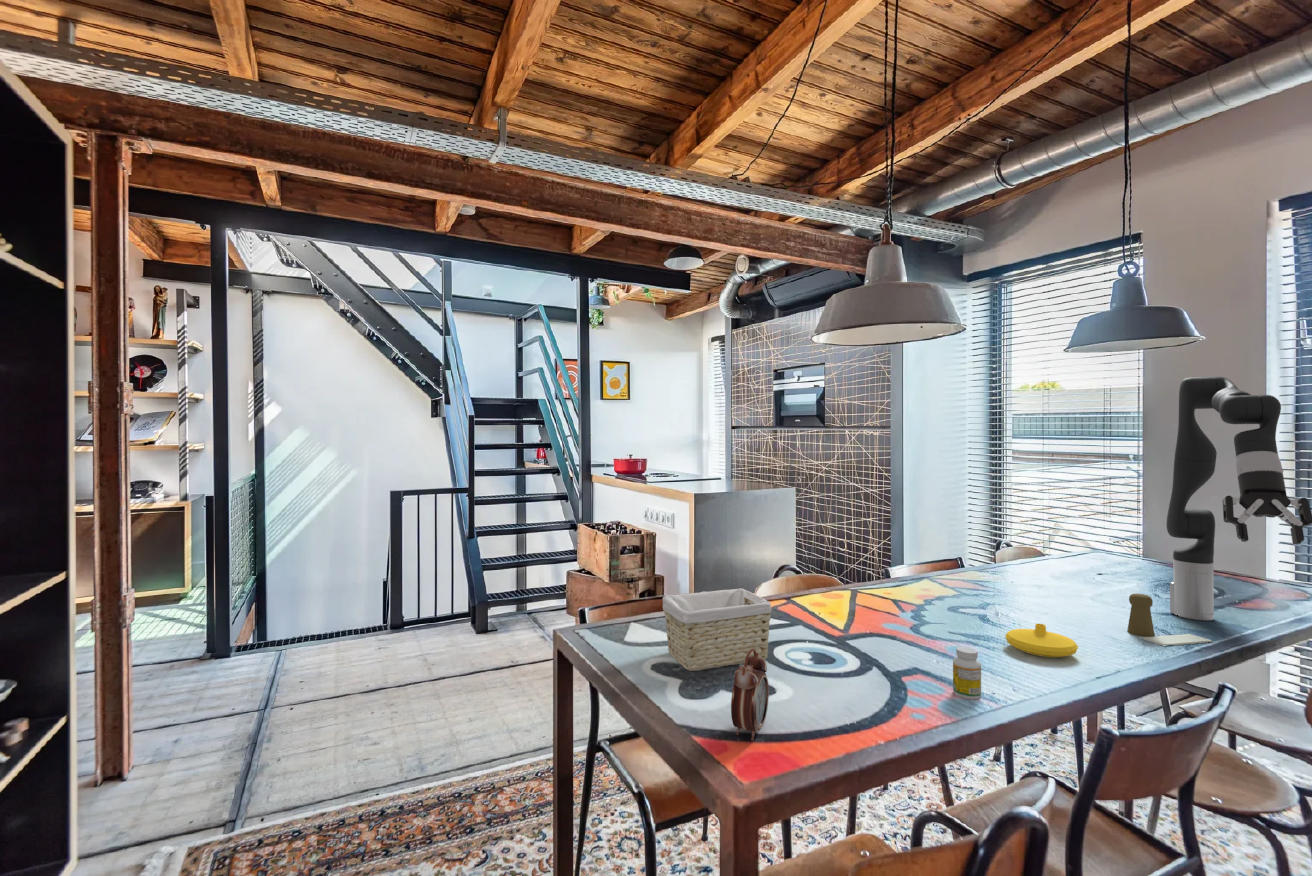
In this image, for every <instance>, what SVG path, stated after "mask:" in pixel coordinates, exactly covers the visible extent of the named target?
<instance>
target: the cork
mask: <svg viewBox="0 0 1312 876" xmlns="http://www.w3.org/2000/svg"><path fill="white" fill-rule="evenodd" d="M1128 602H1129V604H1130V605H1131V606H1130V613H1129V618H1128V625H1127V633H1128V634H1131V635H1134V636H1138V637H1142V638H1143V637H1156V636H1155V628H1154V624H1153V617H1152V612H1151V607H1153V603H1154V602H1153V599H1152V597H1151V596H1150V595H1147V594H1144V593H1132V594H1130V595H1129V597H1128Z"/></svg>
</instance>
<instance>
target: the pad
mask: <svg viewBox="0 0 1312 876" xmlns="http://www.w3.org/2000/svg"><path fill="white" fill-rule="evenodd" d="M1143 639H1144V640H1143ZM1142 640H1143V641H1146V640H1147V642H1149V641H1150V642H1149V643H1153V644H1156V645H1159V646H1162V645H1174V646H1185V644H1186V645H1194V644H1196V643H1198V644H1207V643H1208V642H1210V643H1213V640H1212V639H1209V638H1206V637H1202V636H1198V635H1195V634H1192V633H1183V634H1172V635H1171V634H1170V635H1159V636H1154V637H1143V636H1142ZM1206 642H1207V643H1206ZM1208 644H1209V643H1208Z"/></svg>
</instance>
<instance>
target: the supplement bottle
mask: <svg viewBox="0 0 1312 876" xmlns="http://www.w3.org/2000/svg"><path fill="white" fill-rule="evenodd" d="M978 657H979V655H978V650H977V649H975V648H973V647H967V646H957V647H956V656H955V657H954V658H953V660H952V691H953V692H952V693H954V695H956V696H957V697H959V698H962V699H964V700H971V701H972V700H973V701H974V700H975V701H976V700H979V699H980V698H981V697H982V664H981V662H980V660H978Z"/></svg>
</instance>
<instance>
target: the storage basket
mask: <svg viewBox="0 0 1312 876" xmlns="http://www.w3.org/2000/svg"><path fill="white" fill-rule="evenodd" d="M748 603H749V604H748ZM662 610H663V612H664V616H665V617H664V619H665V628H666V637H667V645H668V647H667V650H668V654H669V655H670V656H671V657H672V658H674V659H675V660H676V661H677V662H678V663H679V664H680V665H681V666H682V667H683V668H684V669H685V670H687V671H688V672H689V671H690V672H694V671H702V670H707V669H708V670H710V669H712V668H715V669H716V668H717V669H718V668H721V667H725V666H726V667H728V666H734V665H741V664H744V663H745V658H746V656H747V654H748V652H749V651H750V650H751V649H755V650H756V653H758V654H759V655H758V657H760V658H762V659H763V660H764V661H765V660H766V659H768V654H769V652H768V650H769V637H770V624H771V613H772V606H771V602H770V601H769V600H766V599H765V598H763V597H761V596H760V595H758V594H756V593H753V592H751V591H749V590H746V589H744V588H735V589H720V590H714V591H713V590H711V591H703V592H693V593H680V594H667V595H664V596H662ZM750 656H754V652H752V653H751V654H750ZM750 656H749V657H750Z"/></svg>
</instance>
